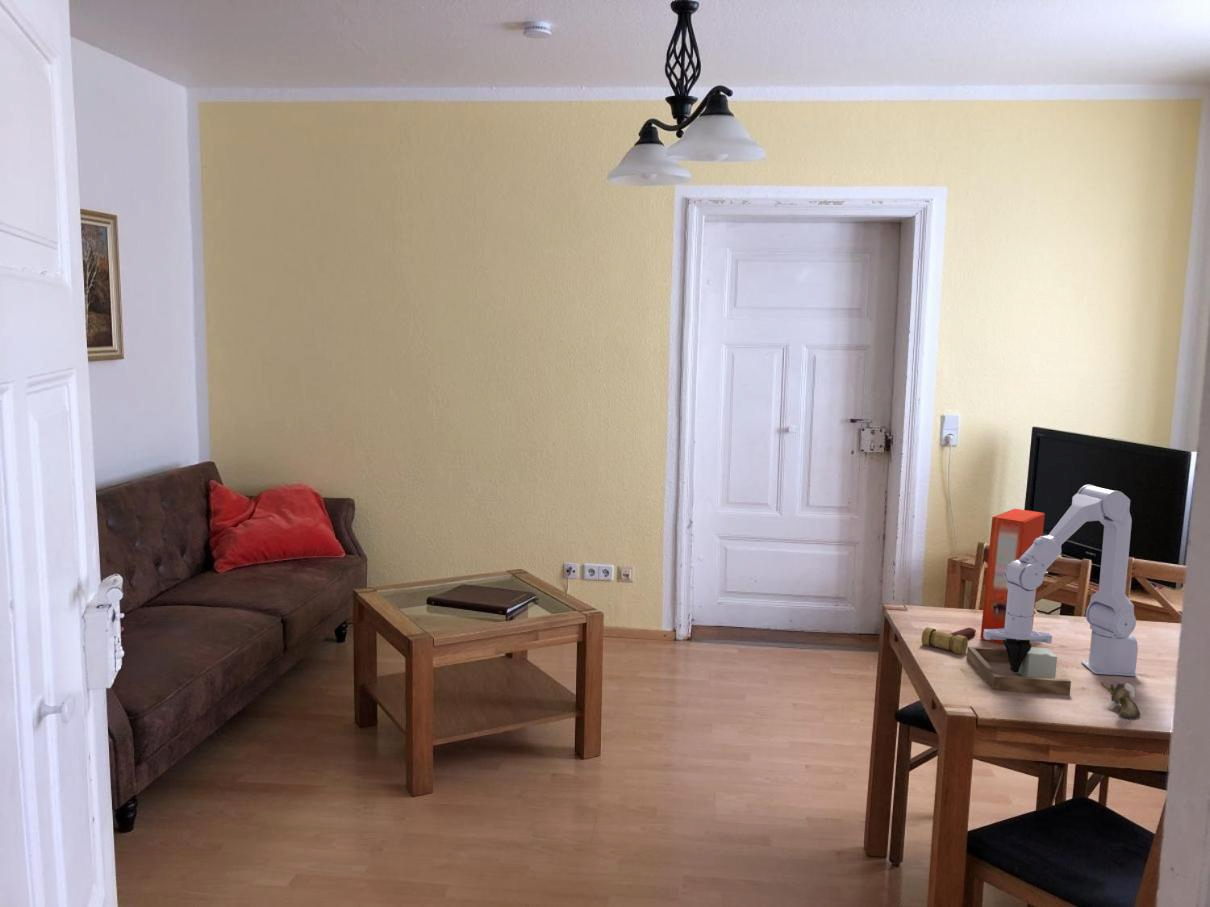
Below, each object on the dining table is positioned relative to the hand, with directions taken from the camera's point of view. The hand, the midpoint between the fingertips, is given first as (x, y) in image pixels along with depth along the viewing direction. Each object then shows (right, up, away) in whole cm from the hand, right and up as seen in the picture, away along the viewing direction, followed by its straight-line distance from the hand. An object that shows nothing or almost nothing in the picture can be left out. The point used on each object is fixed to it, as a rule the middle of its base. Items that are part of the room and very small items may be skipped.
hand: (1014, 671), depth 220 cm
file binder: (+11, +2, +30) cm, 32 cm away
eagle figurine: (+14, -4, -19) cm, 24 cm away
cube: (+5, -1, 0) cm, 5 cm away
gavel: (-4, +2, +24) cm, 24 cm away
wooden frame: (+1, -1, 0) cm, 1 cm away
